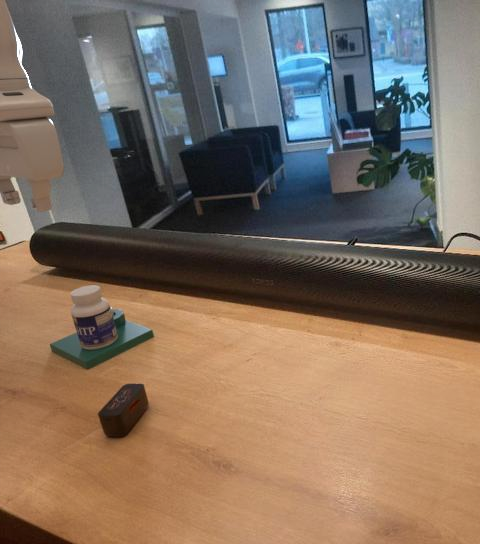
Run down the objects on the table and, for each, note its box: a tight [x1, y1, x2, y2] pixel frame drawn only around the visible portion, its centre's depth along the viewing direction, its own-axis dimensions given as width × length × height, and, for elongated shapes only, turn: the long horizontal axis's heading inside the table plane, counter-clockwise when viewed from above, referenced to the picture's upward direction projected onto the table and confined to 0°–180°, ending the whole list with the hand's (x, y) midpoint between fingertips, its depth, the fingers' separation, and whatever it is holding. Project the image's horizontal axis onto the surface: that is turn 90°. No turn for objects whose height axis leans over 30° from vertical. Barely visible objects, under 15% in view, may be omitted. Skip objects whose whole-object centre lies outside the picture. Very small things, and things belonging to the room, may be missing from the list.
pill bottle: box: [70, 284, 118, 350], centre depth 76 cm, size 5×5×9 cm
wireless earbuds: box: [97, 382, 150, 437], centre depth 60 cm, size 5×7×3 cm, turn 175°
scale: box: [49, 308, 155, 370], centre depth 79 cm, size 11×11×3 cm
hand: (27, 207), depth 70 cm, fingers open, 8 cm apart
